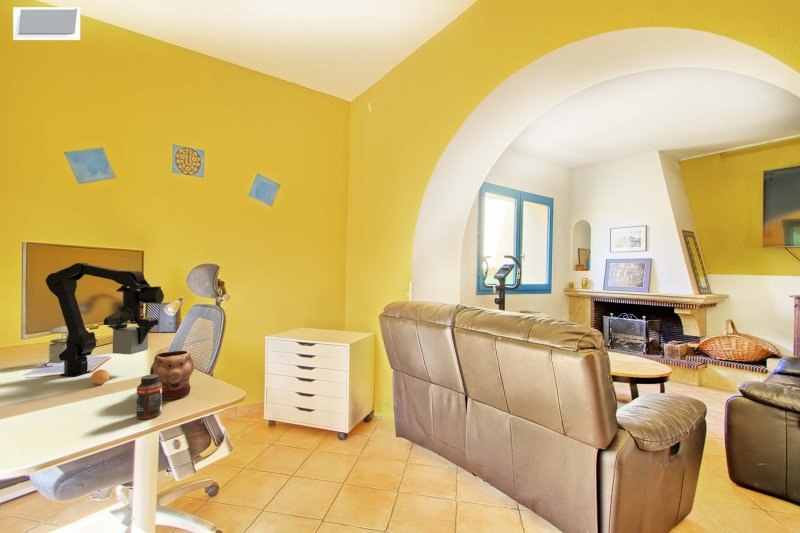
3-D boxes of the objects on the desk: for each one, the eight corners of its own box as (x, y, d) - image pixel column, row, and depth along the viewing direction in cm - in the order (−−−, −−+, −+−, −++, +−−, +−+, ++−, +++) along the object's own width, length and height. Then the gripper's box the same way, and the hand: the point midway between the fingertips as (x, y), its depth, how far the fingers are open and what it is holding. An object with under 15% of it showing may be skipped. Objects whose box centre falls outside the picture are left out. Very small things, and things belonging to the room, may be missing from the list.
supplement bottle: (166, 412, 105) (167, 373, 104) (150, 421, 99) (151, 380, 99) (147, 410, 105) (148, 372, 105) (130, 419, 99) (131, 378, 99)
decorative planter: (144, 390, 122) (145, 349, 122) (184, 382, 130) (185, 344, 130) (156, 407, 107) (157, 361, 107) (201, 398, 116) (202, 355, 116)
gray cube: (112, 353, 135) (113, 330, 135) (130, 348, 142) (130, 326, 142) (130, 354, 134) (131, 331, 134) (147, 349, 142) (148, 327, 141)
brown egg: (86, 386, 124) (87, 371, 124) (100, 381, 129) (100, 367, 129) (99, 386, 123) (99, 372, 123) (112, 382, 128) (113, 368, 128)
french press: (40, 367, 143) (41, 305, 143) (54, 359, 154) (55, 302, 154) (71, 365, 147) (72, 304, 147) (83, 358, 158) (84, 301, 158)
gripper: (90, 304, 131) (89, 346, 131) (135, 306, 129) (134, 349, 129) (117, 301, 142) (116, 340, 142) (160, 303, 140) (159, 343, 140)
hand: (130, 343), depth 138 cm, fingers closed on gray cube, 8 cm apart
